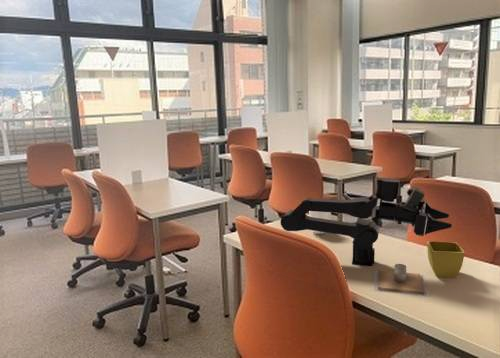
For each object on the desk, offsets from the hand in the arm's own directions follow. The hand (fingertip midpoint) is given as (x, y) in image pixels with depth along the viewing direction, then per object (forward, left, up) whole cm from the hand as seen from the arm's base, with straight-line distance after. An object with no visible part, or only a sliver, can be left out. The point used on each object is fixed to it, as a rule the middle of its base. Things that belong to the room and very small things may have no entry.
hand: (450, 220), depth 125 cm
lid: (-14, -13, -16) cm, 25 cm away
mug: (-42, +29, -17) cm, 54 cm away
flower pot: (-1, -3, -17) cm, 17 cm away
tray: (-14, -13, -16) cm, 25 cm away
